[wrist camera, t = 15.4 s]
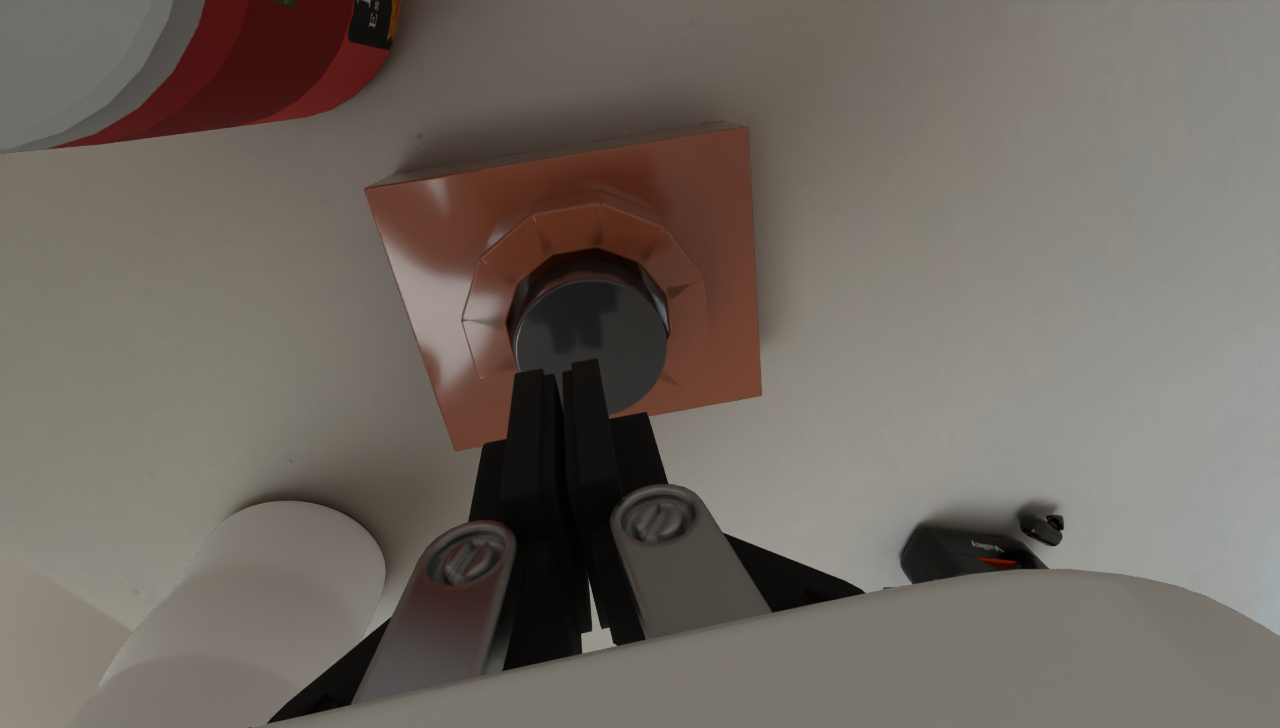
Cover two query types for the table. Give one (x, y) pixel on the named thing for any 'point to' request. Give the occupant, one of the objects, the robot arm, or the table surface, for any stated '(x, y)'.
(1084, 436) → the table surface
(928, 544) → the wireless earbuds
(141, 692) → the water bottle
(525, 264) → the push button box
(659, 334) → the button
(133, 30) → the canned food
